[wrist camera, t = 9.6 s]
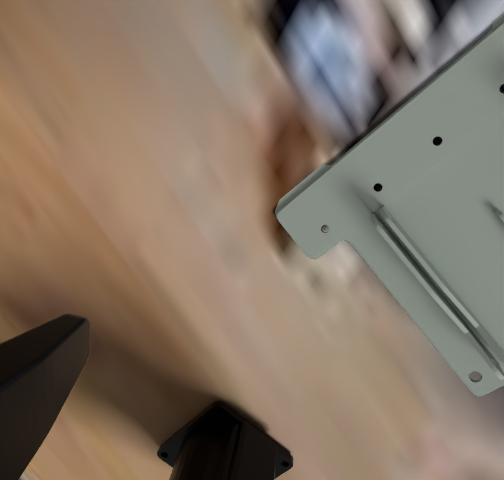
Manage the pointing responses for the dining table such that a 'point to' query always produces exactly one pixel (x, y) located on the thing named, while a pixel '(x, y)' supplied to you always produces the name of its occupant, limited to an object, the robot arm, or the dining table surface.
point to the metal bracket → (427, 210)
